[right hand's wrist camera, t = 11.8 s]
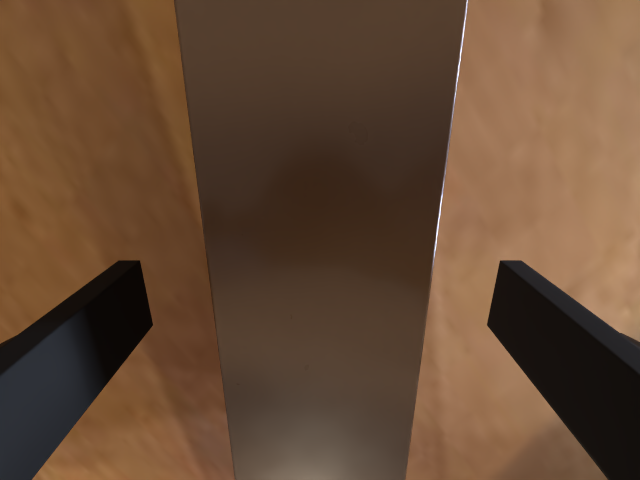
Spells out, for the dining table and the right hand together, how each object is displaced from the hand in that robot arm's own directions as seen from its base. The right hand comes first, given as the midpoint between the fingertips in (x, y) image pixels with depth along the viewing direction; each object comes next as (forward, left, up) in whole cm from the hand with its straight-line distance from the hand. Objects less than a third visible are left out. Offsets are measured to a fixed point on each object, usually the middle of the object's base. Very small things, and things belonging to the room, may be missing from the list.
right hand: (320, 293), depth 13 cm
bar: (+2, -18, -4) cm, 19 cm away
